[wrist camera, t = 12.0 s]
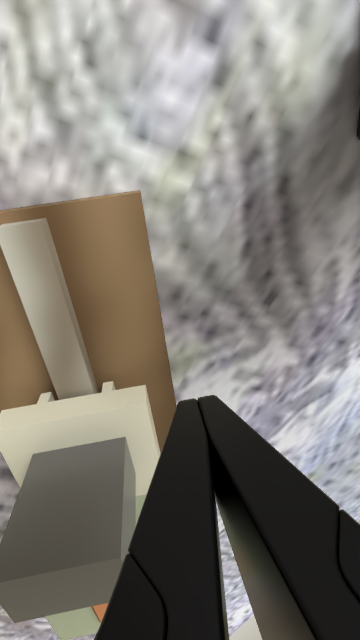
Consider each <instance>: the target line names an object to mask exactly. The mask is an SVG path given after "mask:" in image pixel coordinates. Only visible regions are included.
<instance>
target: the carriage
mask: <svg viewBox="0 0 360 640" xmlns="http://www.w3.org/2000/svg"><path fill="white" fill-rule="evenodd" d="M0 452H1V453H2V455H3V457H4V459H5V461H6V463H7V465H8V466H9V468H10V470H11V472H12V474H13V476H14V478H15V480H16V481H17V483H18V485H19V487H20V491H19V494H18V497H17V500H16V503H15V505H14V508H13V511H12V514H11V517H10V519H9V522H8V525H7V528H6V531H5V533H4V536H3V539H2V542H1V545H0V604H1V606H2V607H3V608H4V610H5V611H6V612H7V614H8V615H9V616H10V617H11V619H12V620H13V621H14V623H17V622H21V621H26V620H31V619H35V618H40V617H45V616H49V615H54V614H59V613H63V612H68V611H73V610H77V609H82V608H87V607H91V606H96V605H100V604H105V603H109V600H110V598H111V595H112V592H113V590H114V587H115V584H116V581H117V579H118V576H119V573H120V570H121V567H122V564H123V561H124V558H125V556H126V554H129V553H128V547H129V544H130V541H131V538H132V536H133V533H134V530H135V527H136V496H141V495H146V494H147V492H148V489H149V486H150V483H151V480H152V477H153V474H154V471H155V468H156V466H157V463H158V460H159V457H160V449H159V444H158V440H157V435H156V431H155V426H154V421H153V417H152V412H151V407H150V403H149V398H148V393H147V389H146V385H141V386H136V387H130V388H124V389H119V390H115V386H114V382H113V381H110V382H105V383H103V386H102V393H96V394H91V395H85V396H79V397H74V398H68V399H62V400H57V401H55V400H54V397H53V395H52V392H48V393H42V394H41V395H40V397H39V400H38V402H37V404H34V405H29V406H23V407H17V408H12V409H6V410H2V411H1V413H0Z"/></svg>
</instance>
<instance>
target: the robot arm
mask: <svg viewBox="0 0 360 640" xmlns="http://www.w3.org/2000/svg"><path fill="white" fill-rule="evenodd" d="M357 137H358V139H359V140H360V110H359V119H358V128H357ZM215 498H216V501H215ZM216 502H217V505H218V508H219V511H220V514H221V517H222V520H223V523H224V526H225V529H226V532H227V535H228V538H229V541H230V544H231V547H232V550H233V553H234V556H235V559H236V562H237V565H238V568H239V571H240V574H241V577H242V580H243V583H244V586H245V589H246V592H247V595H248V598H249V601H250V604H251V607H252V610H253V613H254V616H255V619H256V622H257V624H258V628H259V631H260V634H261V636H262V639H263V640H360V524H359V523H358V522H357V521H355V520H354V519H353V518H352V517H351V516H350V515H349V514H348V513H347V512H346V511H344V510H340V511H339V506H338V505H337V504H336V503H335V502H334V501H333V500H332V499H331V498H330V497H328V496H327V495H326V494H325V493H324V492H323V491H322V490H321V489H320V488H318V487H317V486H316V485H315V484H314V483H313V482H312V481H311V480H309V479H308V478H307V477H306V476H305V475H304V474H303V473H302V472H301V471H299V470H298V469H297V468H296V467H295V466H294V465H293V464H292V463H290V462H289V461H288V460H287V459H286V458H285V457H284V456H283V455H282V454H280V453H279V452H278V451H277V450H276V449H275V448H274V447H273V446H271V445H270V444H269V443H268V442H267V441H266V440H265V439H264V438H263V437H261V436H260V435H259V434H258V433H257V432H256V431H255V430H254V429H252V428H251V427H250V426H249V425H248V424H247V423H246V422H245V421H244V420H242V419H241V418H240V417H239V416H238V415H237V414H236V413H235V412H233V411H232V410H231V409H230V408H229V407H228V406H227V405H226V404H225V403H223V402H222V401H221V400H220V399H219V398H218V397H217V396H215V395H210V396H205V397H200V398H198V400H196V399H188V400H183V401H180V402H179V403H178V404H177V407H176V410H175V413H174V416H173V419H172V422H171V425H170V428H169V431H168V433H167V436H166V439H165V442H164V445H163V448H162V451H161V454H160V457H159V460H158V463H157V466H156V468H155V471H154V474H153V477H152V480H151V483H150V486H149V489H148V492H147V495H146V498H145V501H144V503H143V506H142V509H141V512H140V515H139V518H138V521H137V524H136V527H135V530H134V533H133V536H132V538H131V541H130V544H129V547H128V553H129V554H126V556H125V558H124V561H123V564H122V567H121V570H120V573H119V576H118V579H117V581H116V584H115V587H114V590H113V592H112V595H111V598H110V600H109V603H108V606H107V608H106V611H105V614H104V616H103V619H102V622H101V624H100V627H99V629H98V631H97V634H96V636H95V639H94V640H229V633H228V622H227V612H226V602H225V591H224V581H223V571H222V560H221V550H220V540H219V529H218V519H217V509H216Z"/></svg>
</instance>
